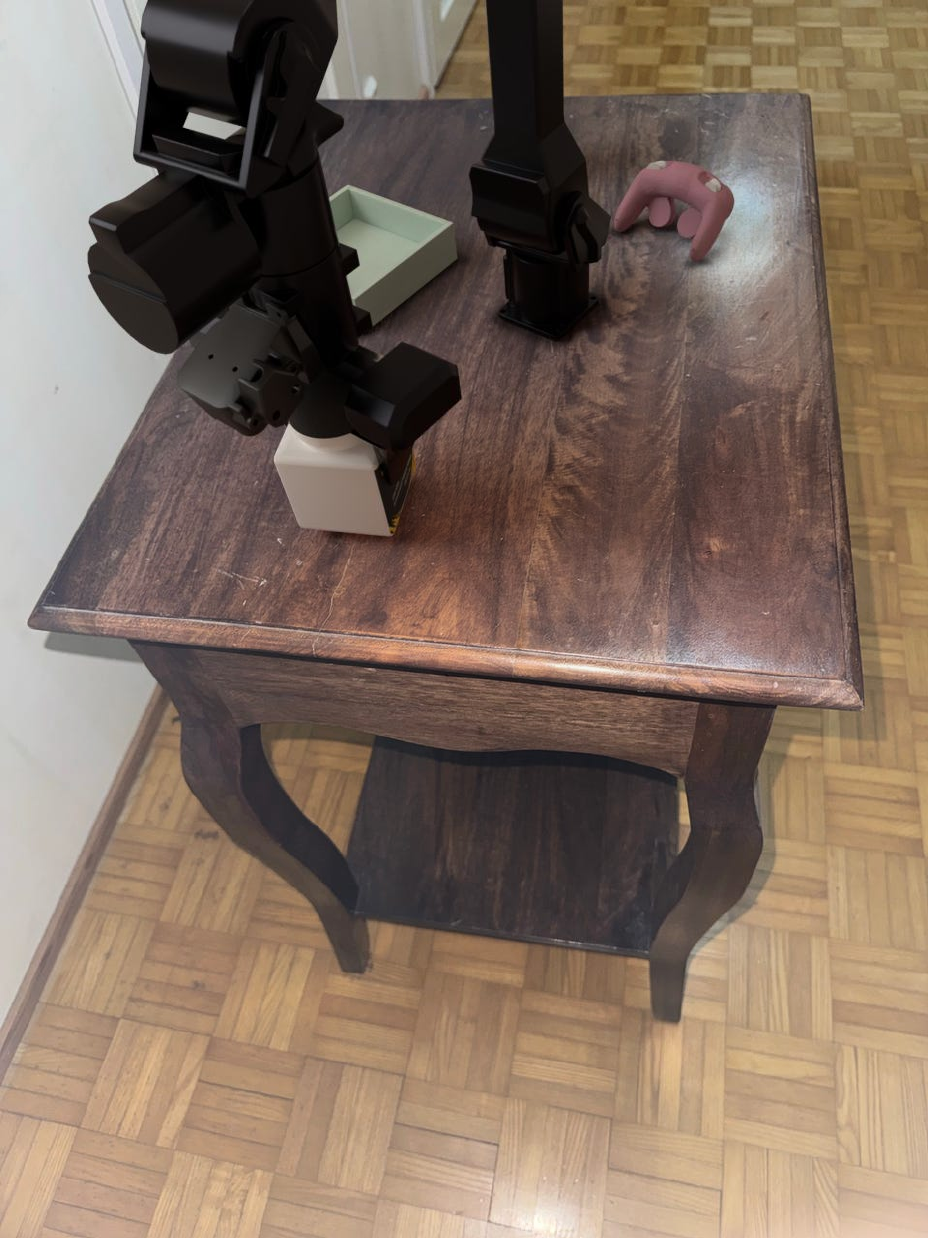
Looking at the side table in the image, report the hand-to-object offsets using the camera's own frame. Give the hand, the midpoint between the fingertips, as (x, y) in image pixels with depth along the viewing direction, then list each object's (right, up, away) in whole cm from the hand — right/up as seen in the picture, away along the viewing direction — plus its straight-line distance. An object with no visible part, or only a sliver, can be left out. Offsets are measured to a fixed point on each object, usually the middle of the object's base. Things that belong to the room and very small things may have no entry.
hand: (344, 453), depth 62 cm
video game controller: (+27, +24, +21) cm, 42 cm away
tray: (-2, +21, +22) cm, 30 cm away
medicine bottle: (+1, -3, +4) cm, 5 cm away
